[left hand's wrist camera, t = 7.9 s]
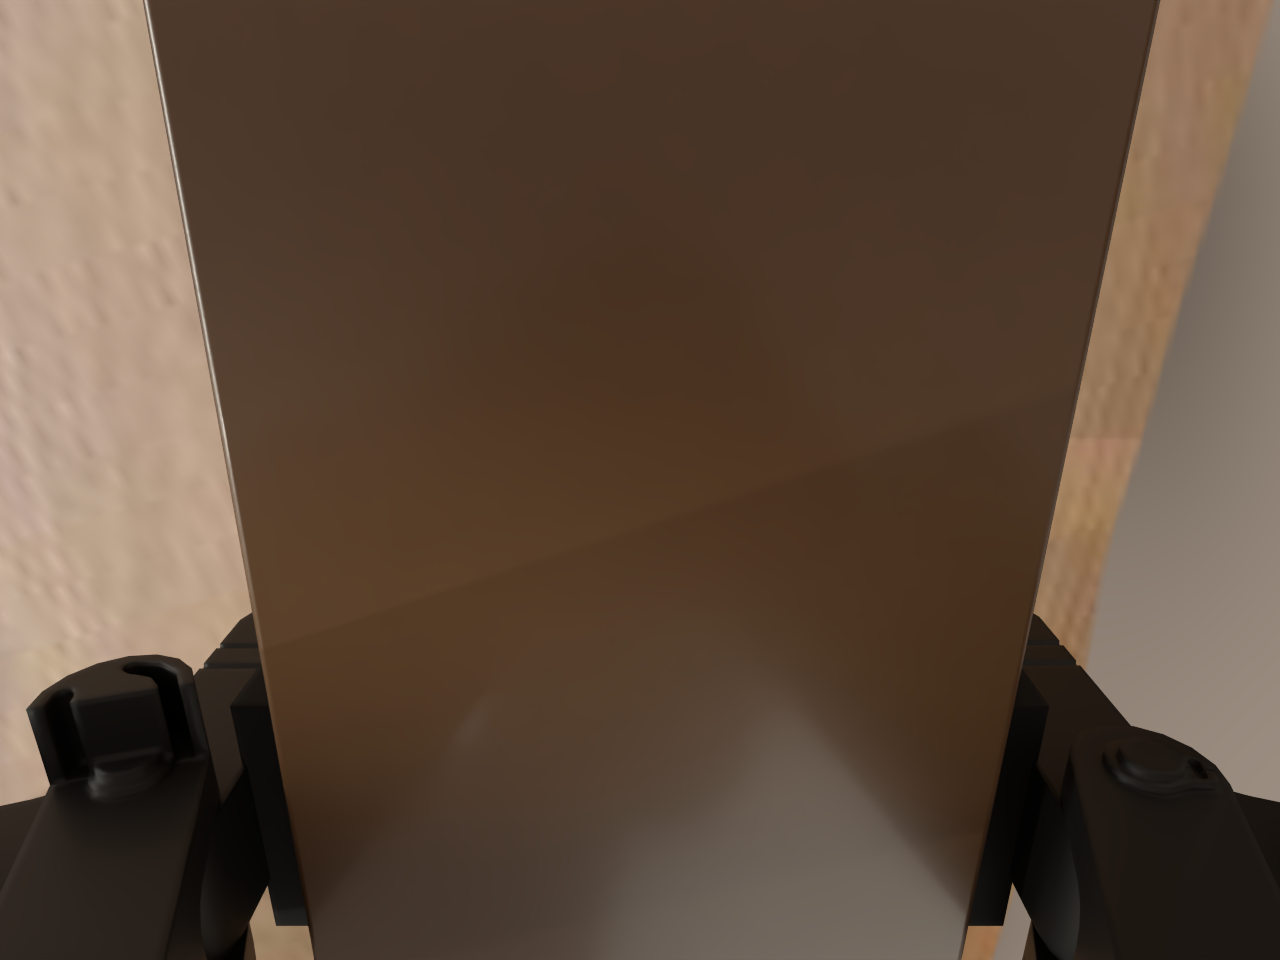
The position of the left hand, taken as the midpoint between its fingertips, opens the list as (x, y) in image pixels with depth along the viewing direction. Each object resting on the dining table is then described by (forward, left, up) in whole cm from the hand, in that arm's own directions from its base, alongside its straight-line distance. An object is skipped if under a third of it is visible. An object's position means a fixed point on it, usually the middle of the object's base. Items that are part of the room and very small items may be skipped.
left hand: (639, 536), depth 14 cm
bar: (+19, +4, -1) cm, 20 cm away
